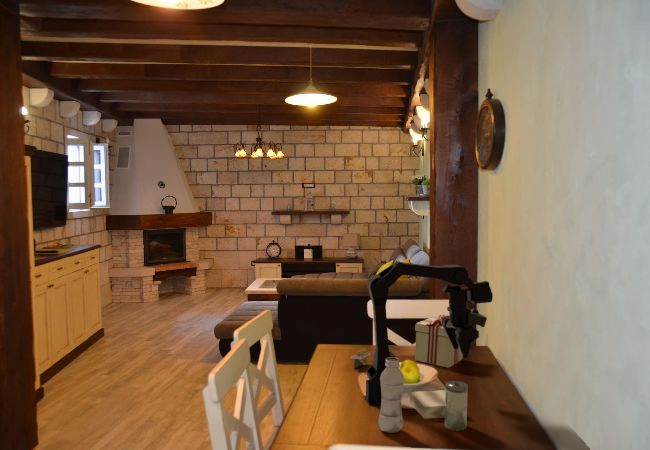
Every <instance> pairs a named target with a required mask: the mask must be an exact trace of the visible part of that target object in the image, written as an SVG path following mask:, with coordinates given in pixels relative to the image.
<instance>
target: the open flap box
mask: <svg viewBox="0 0 650 450" xmlns="http://www.w3.org/2000/svg"><path fill="white" fill-rule="evenodd" d="M355 353H356V354H353V355H352V356H351V355H350V359H353V361H354V363H353V370H355V369H357V368H358V367H360V366H363V365H364V366H367V362H368V361H367V357H369V356H370V355H371V352H369V351H368V348H365V347H363V348H361V349H359V350H357V351H356V352H355Z"/></svg>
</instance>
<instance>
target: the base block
mask: <svg viewBox="0 0 650 450" xmlns="http://www.w3.org/2000/svg"><path fill="white" fill-rule="evenodd" d="M445 394H446V389H443V390H440V389H439V390H424V391H423V390H422V391H410V393H409V395H410V396H409V397H410V398H409V404H410V403H411V404H412V405H413V406H414V407H415V408H414V407H413V406H412V405H411V404H410V405H411V406H412V407H413V408H414V409H415V411H417V412H418V414H419V415H420V416H421V417H422V419H424V420H427V419H440V418H442V419H445Z"/></svg>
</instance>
